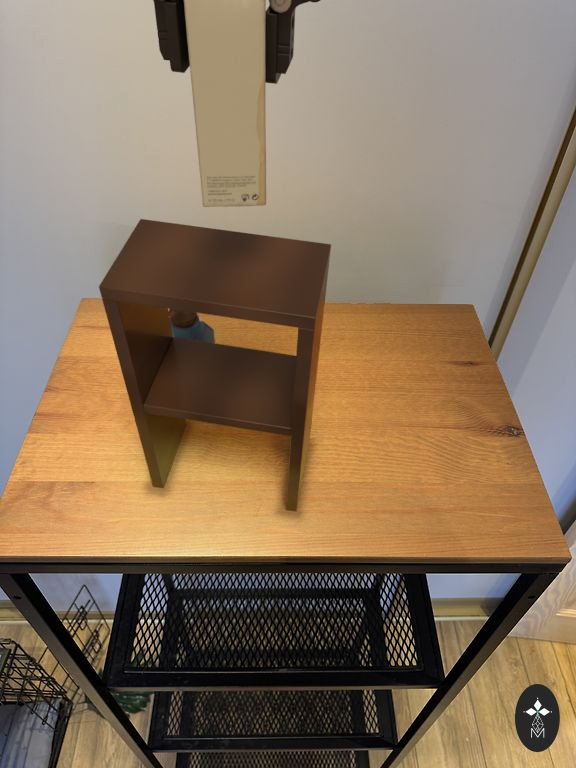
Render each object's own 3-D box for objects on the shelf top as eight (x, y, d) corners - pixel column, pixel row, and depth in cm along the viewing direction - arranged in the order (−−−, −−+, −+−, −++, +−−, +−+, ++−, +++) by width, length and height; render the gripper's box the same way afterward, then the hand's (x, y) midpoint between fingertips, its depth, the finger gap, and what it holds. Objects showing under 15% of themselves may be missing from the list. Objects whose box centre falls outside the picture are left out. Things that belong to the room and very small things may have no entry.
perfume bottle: (168, 365, 75) (156, 294, 65) (216, 363, 75) (210, 292, 66) (166, 402, 70) (152, 332, 61) (217, 400, 71) (210, 330, 62)
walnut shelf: (309, 444, 67) (331, 243, 46) (296, 512, 61) (315, 318, 40) (177, 422, 69) (140, 218, 47) (152, 486, 63) (98, 286, 42)
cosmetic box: (266, 208, 38) (270, -5, 29) (199, 209, 38) (181, -7, 29) (261, 161, 42) (263, -39, 33) (200, 162, 42) (185, -41, 33)
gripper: (-20, -433, 20) (89, 84, 33) (395, -417, 19) (338, 114, 31) (71, -399, 25) (134, 39, 37) (404, -384, 23) (352, 63, 36)
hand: (227, 71), depth 34 cm, fingers closed on cosmetic box, 5 cm apart
